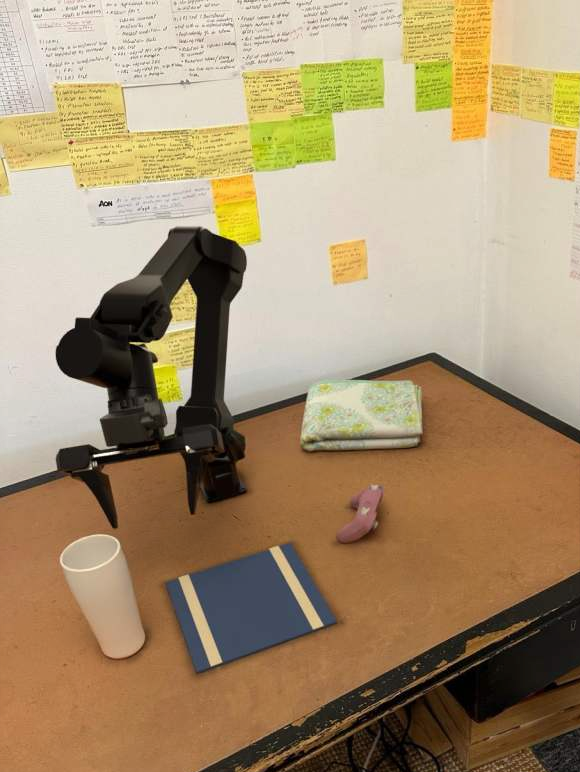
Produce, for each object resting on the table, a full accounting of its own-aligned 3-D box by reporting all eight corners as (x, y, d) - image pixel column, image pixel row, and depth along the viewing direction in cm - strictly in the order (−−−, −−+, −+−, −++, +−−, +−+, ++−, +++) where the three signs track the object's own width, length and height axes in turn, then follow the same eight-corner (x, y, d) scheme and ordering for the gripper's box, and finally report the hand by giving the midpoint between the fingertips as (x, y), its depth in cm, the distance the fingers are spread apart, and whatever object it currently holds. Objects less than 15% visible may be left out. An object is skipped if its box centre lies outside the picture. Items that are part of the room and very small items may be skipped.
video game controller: (361, 555, 107) (380, 522, 103) (332, 541, 106) (350, 507, 102) (375, 514, 115) (394, 481, 110) (349, 501, 114) (366, 468, 110)
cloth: (166, 584, 102) (165, 581, 101) (290, 544, 107) (290, 541, 107) (196, 674, 88) (195, 671, 88) (337, 623, 94) (337, 620, 94)
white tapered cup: (122, 673, 89) (86, 578, 80) (84, 652, 92) (45, 559, 83) (163, 637, 94) (133, 543, 85) (126, 618, 97) (93, 526, 88)
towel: (425, 449, 126) (425, 423, 123) (300, 454, 127) (296, 428, 124) (422, 398, 141) (421, 374, 138) (310, 403, 141) (307, 379, 138)
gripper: (27, 391, 81) (50, 532, 80) (199, 365, 83) (223, 502, 82) (63, 412, 92) (83, 536, 92) (214, 388, 94) (235, 509, 93)
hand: (154, 521), depth 89 cm, fingers open, 9 cm apart
